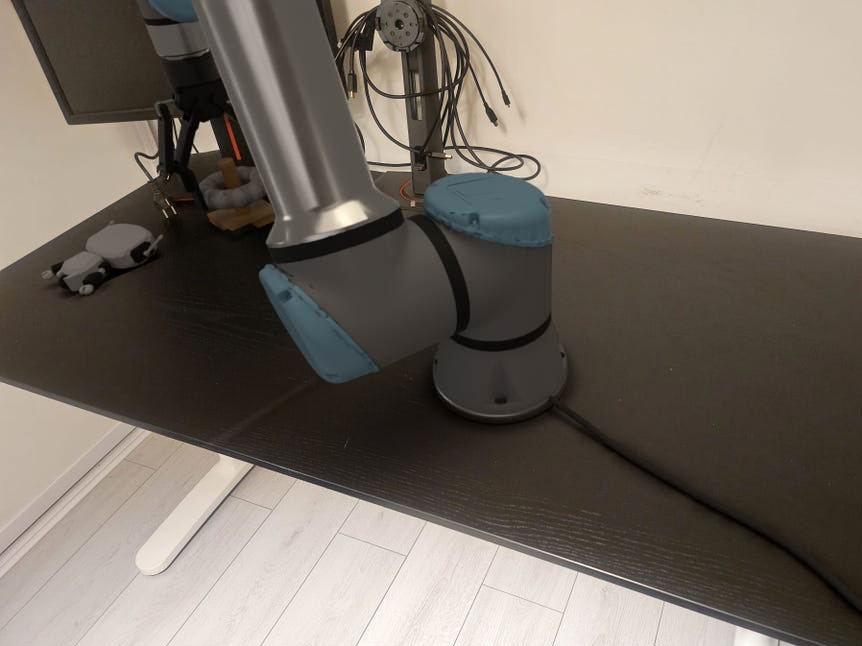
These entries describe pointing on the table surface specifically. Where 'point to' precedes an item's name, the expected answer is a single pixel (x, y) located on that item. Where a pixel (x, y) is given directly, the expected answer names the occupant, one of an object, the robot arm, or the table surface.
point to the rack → (239, 217)
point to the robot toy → (104, 257)
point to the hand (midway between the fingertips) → (237, 194)
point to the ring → (233, 190)
